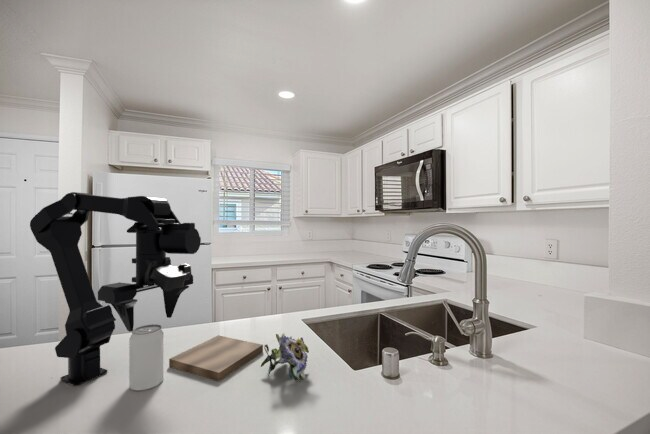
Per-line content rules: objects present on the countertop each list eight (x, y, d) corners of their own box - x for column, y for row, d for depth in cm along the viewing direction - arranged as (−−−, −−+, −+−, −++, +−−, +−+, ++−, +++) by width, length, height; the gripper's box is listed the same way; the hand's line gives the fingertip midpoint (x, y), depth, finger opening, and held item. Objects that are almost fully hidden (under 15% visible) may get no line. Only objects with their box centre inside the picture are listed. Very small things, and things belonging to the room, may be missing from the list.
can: (148, 393, 61) (148, 335, 61) (121, 390, 62) (121, 333, 62) (170, 377, 67) (170, 324, 68) (146, 374, 69) (146, 322, 69)
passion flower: (300, 402, 67) (308, 375, 60) (253, 394, 66) (255, 366, 60) (307, 355, 76) (314, 327, 69) (265, 348, 76) (268, 319, 69)
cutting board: (169, 367, 72) (169, 358, 72) (218, 342, 87) (218, 335, 87) (218, 381, 65) (218, 372, 65) (262, 352, 80) (262, 344, 80)
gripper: (134, 260, 54) (134, 346, 54) (210, 250, 71) (210, 315, 71) (96, 257, 58) (95, 337, 58) (176, 248, 75) (176, 310, 75)
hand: (150, 323), depth 65 cm, fingers open, 9 cm apart
